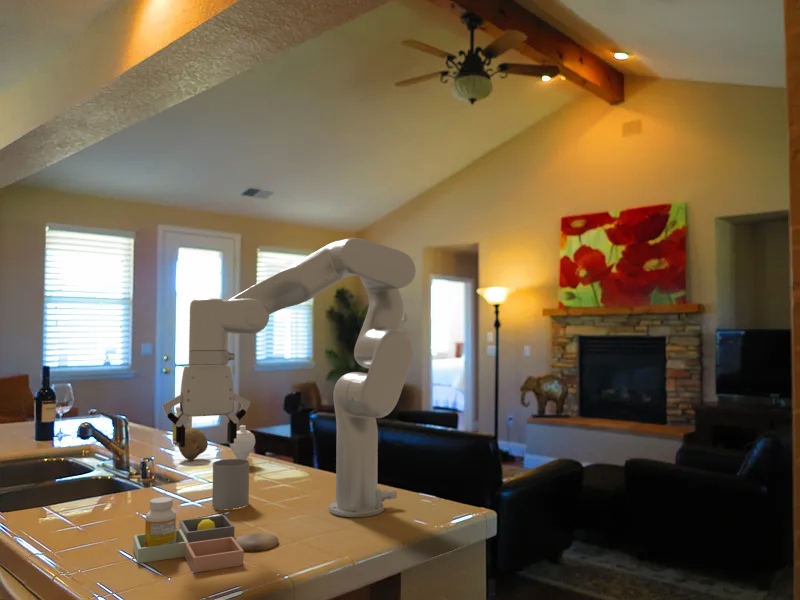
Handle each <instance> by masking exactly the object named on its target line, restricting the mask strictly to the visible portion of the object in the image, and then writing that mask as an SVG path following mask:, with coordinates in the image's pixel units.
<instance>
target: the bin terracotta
mask: <svg viewBox="0 0 800 600" xmlns="http://www.w3.org/2000/svg"><path fill="white" fill-rule="evenodd" d="M234 538H235V537H234ZM234 538H233V537H227V538H220V539H212V540H205V541H198V542H190V543H185V556H184V558H185V561H186V562H187V564H188V566H189V567H190V570H191V572H192V573H194V574H195V573H200V572H207V571H213V570H221V569H226V568H231V567H238V566H243V565H244V557H245V556H244V550H243V549H242V548H241V547H240V545H239V544H238V543H237V542H236V540H235V539H234Z"/></svg>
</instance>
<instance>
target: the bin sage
mask: <svg viewBox="0 0 800 600" xmlns="http://www.w3.org/2000/svg"><path fill="white" fill-rule="evenodd" d="M185 543H188V541H187V539H186V537H185V535H184V534H183V532H182V530H181V529H176V543H172V544H165V545H157V546H150V547H145V533H140V534H134V535H133V547H132V548H133V551H134V554H135V555H134V556H135V558H136V561H137V562H136V563H137V564H143V563H148V562H155V561H161V560H169V559H177V558H182V557H183V558H185ZM176 557H177V558H176Z"/></svg>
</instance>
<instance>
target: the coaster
mask: <svg viewBox="0 0 800 600" xmlns="http://www.w3.org/2000/svg"><path fill="white" fill-rule="evenodd" d="M234 539H235V540H236V542H237V543H238V544H239V545H240V547H241V548H242V549H243V550H244V552H245V553H247V552H248V553H250V552H251V553H255V552H264V551H268V550H270V549H273V548H275V547H277V546H278V545H279V537H277V536H276V535H274V534H268V533H249V534H244V535H243V534H242V535H239V536H237V537H234Z"/></svg>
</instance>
